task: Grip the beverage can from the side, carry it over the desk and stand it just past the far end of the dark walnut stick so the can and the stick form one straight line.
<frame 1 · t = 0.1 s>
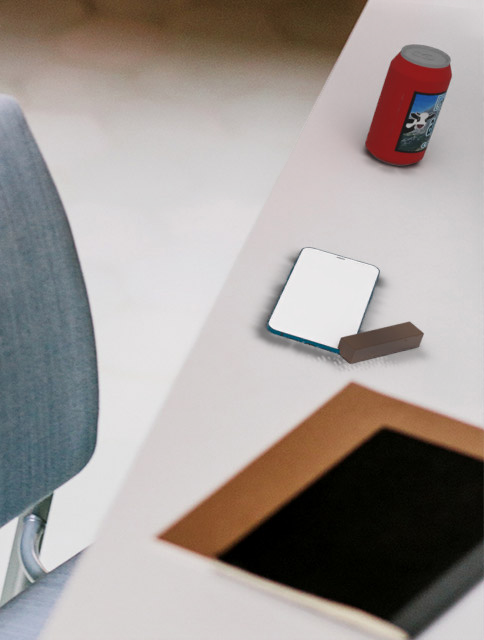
beverage can: (391, 157, 136), on the table
walnut stick: (377, 349, 106), on the table
smartphone: (322, 305, 111), on the table
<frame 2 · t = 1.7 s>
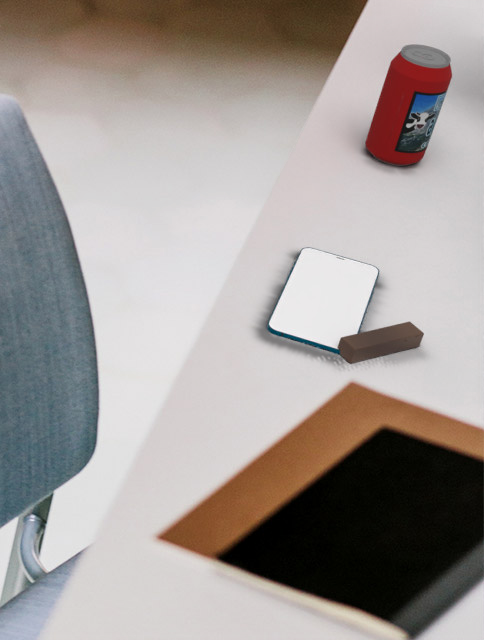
nothing on the table moved.
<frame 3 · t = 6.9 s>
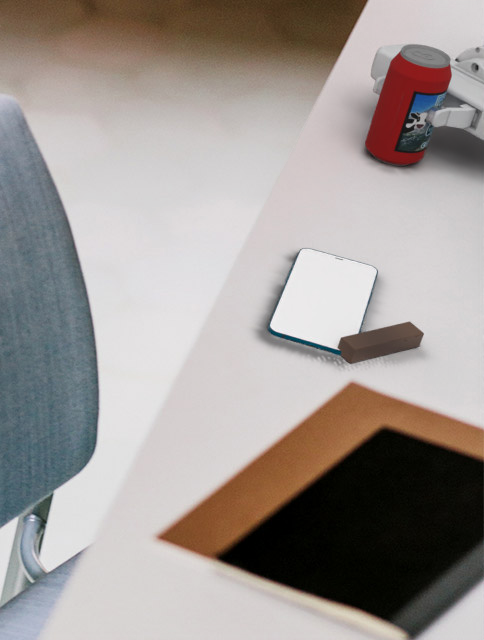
hand: (405, 102, 132), 7 cm above the table, tool horizontal, fingers closed on beverage can, 6 cm apart
beverage can: (391, 157, 136), on the table, touching gripper
everything else where it was.
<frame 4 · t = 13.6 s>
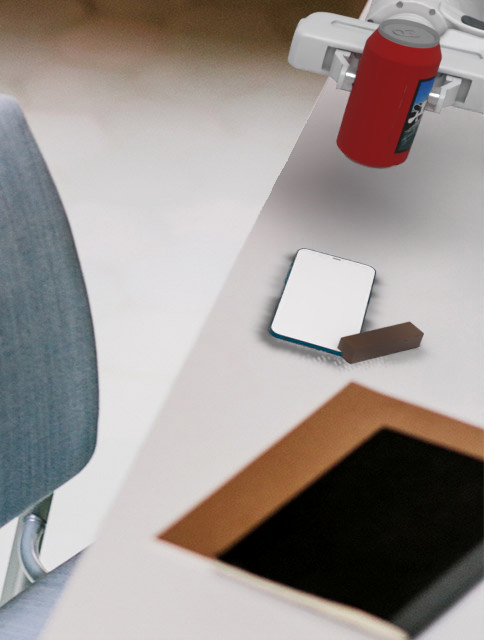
hand: (390, 93, 106), 17 cm above the table, tool horizontal, fingers closed on beverage can, 6 cm apart
beverage can: (368, 158, 111), point 10 cm above the table, touching gripper
everything else where it was.
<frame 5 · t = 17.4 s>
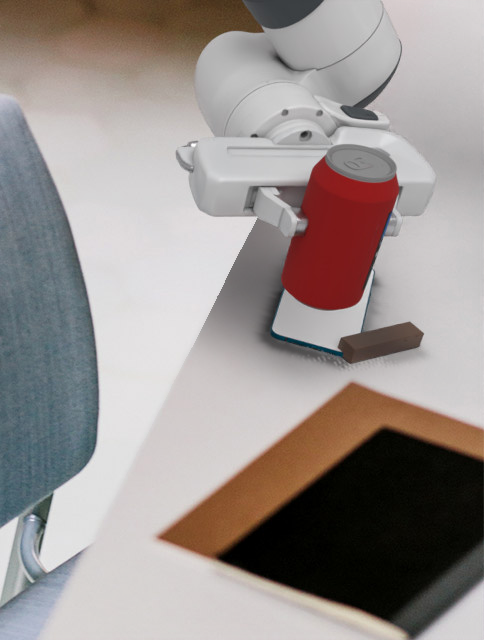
hand: (346, 229, 92), 14 cm above the table, tool horizontal, fingers closed on beverage can, 6 cm apart
beverage can: (318, 296, 97), point 7 cm above the table, touching gripper
everything else where it was.
when the fingers open (7 cm above the table, at t = 20.6 s): beverage can stays where it is, on the table.
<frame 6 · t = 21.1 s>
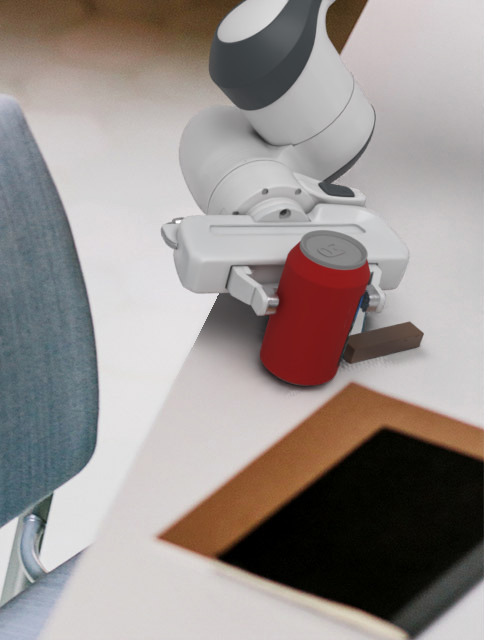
hand: (323, 307, 97), 7 cm above the table, tool horizontal, fingers open, 8 cm apart
beverage can: (295, 370, 102), on the table
everything else where it was.
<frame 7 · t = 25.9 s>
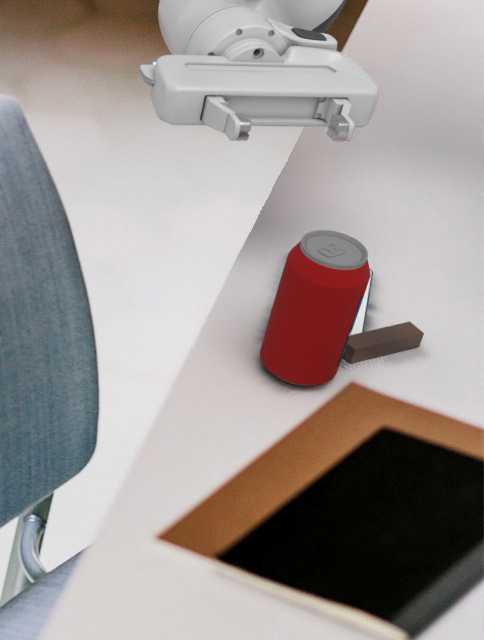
hand: (294, 133, 100), 16 cm above the table, tool horizontal, fingers open, 8 cm apart
nothing on the table moved.
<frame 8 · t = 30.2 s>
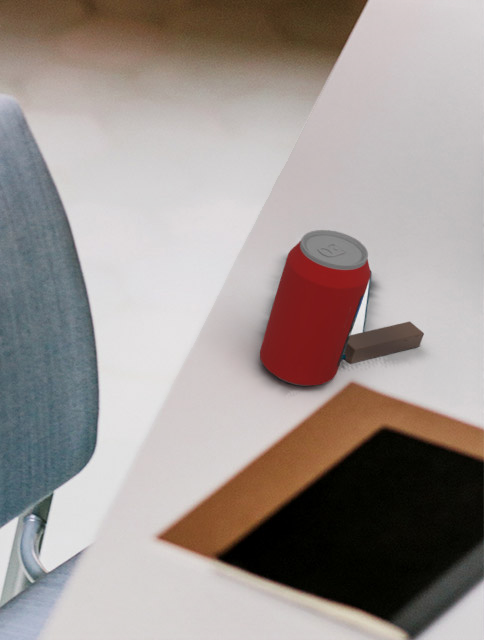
nothing on the table moved.
at the end: beverage can 0.1 cm from the target spot on the table beside the walnut stick, on the table; beverage can tilted 0° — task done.
